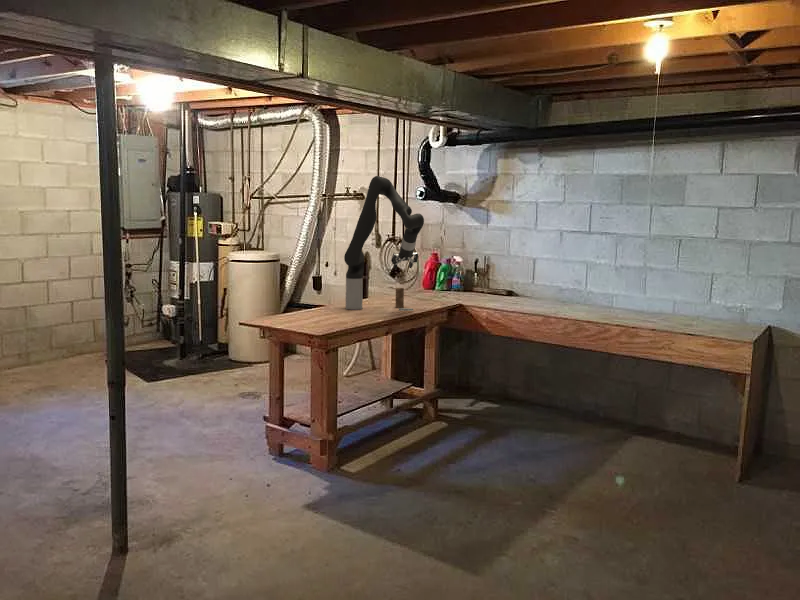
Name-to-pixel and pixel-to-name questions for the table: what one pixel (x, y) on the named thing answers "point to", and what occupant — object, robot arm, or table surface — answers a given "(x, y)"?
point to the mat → (406, 309)
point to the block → (399, 298)
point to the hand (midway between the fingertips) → (402, 267)
